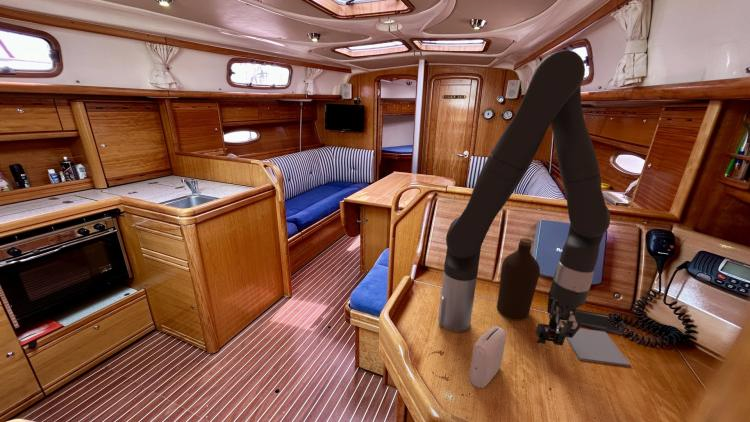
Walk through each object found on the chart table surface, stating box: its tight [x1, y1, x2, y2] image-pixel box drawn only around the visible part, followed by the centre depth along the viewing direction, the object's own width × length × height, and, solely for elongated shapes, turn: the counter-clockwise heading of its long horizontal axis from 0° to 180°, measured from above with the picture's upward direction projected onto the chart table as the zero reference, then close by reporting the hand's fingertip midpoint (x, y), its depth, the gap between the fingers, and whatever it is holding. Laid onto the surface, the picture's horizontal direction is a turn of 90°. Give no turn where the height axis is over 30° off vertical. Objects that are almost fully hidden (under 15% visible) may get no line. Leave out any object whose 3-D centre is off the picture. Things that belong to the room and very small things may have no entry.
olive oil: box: [496, 237, 541, 321], centre depth 93 cm, size 11×11×25 cm
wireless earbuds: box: [535, 323, 564, 345], centre depth 78 cm, size 5×7×3 cm, turn 79°
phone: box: [575, 309, 629, 336], centre depth 92 cm, size 8×1×15 cm
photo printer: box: [468, 325, 507, 389], centre depth 72 cm, size 10×4×12 cm, turn 133°
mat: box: [565, 328, 631, 367], centre depth 83 cm, size 12×12×1 cm
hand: (554, 337), depth 79 cm, fingers closed on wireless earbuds, 3 cm apart
